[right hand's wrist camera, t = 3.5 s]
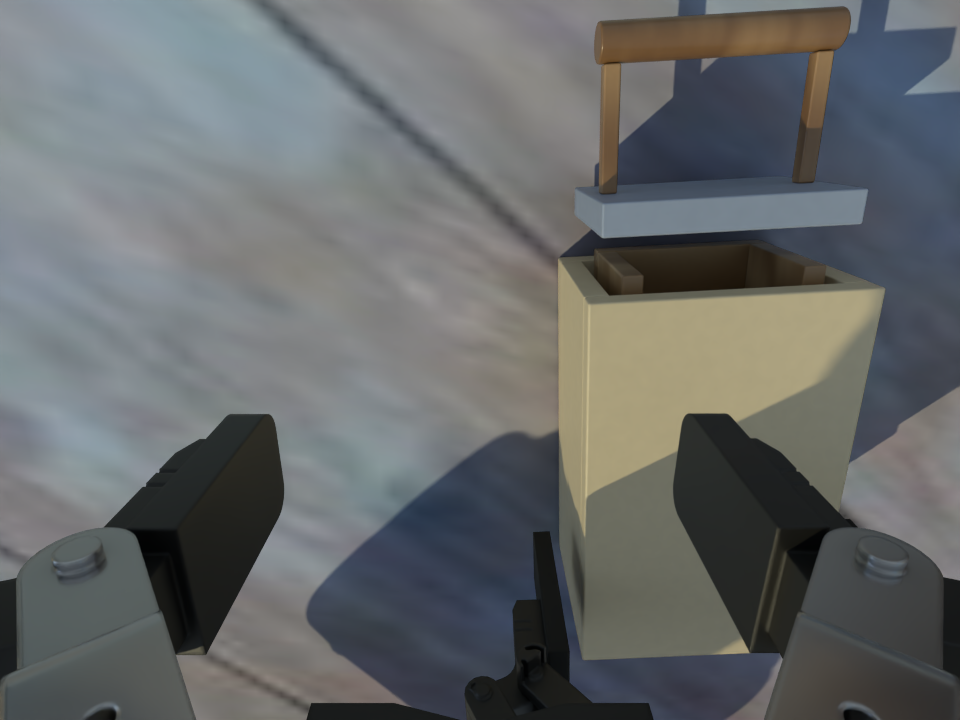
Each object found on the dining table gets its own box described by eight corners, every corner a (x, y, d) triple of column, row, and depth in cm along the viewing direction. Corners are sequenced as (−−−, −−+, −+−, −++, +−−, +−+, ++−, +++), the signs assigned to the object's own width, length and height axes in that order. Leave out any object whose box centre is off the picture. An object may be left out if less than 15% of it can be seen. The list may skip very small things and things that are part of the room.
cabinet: (558, 257, 27) (588, 303, 20) (775, 245, 27) (887, 287, 19) (559, 544, 33) (582, 661, 26) (736, 536, 33) (810, 651, 26)
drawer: (575, 35, 23) (607, 4, 17) (802, 22, 23) (908, -14, 17) (572, 488, 31) (593, 567, 25) (741, 480, 30) (800, 557, 25)
